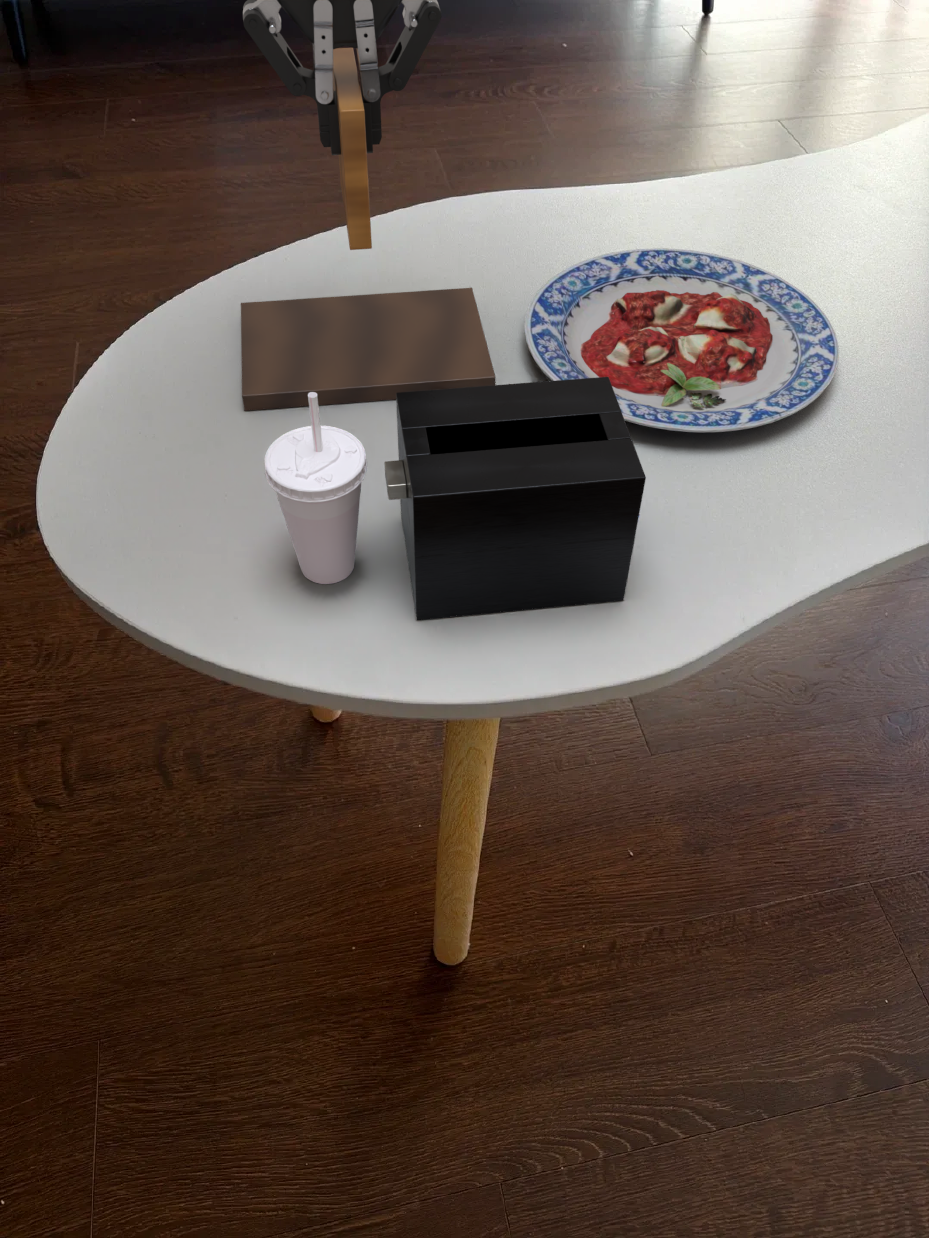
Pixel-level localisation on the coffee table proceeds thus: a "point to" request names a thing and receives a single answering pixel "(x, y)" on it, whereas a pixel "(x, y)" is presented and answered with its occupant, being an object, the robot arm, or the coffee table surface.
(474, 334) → the cutting board
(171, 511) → the coffee table surface
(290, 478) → the smoothie
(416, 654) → the coffee table surface
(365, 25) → the robot arm
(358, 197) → the toast
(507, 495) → the toaster
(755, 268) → the ceramic plate
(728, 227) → the coffee table surface
